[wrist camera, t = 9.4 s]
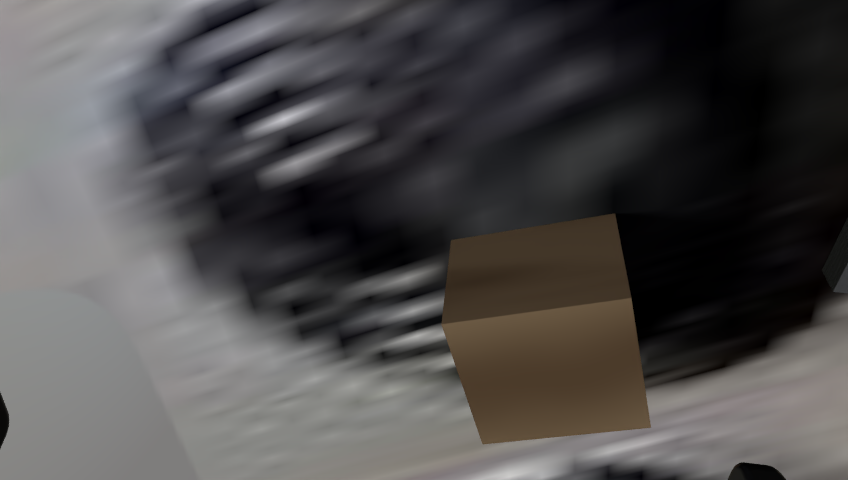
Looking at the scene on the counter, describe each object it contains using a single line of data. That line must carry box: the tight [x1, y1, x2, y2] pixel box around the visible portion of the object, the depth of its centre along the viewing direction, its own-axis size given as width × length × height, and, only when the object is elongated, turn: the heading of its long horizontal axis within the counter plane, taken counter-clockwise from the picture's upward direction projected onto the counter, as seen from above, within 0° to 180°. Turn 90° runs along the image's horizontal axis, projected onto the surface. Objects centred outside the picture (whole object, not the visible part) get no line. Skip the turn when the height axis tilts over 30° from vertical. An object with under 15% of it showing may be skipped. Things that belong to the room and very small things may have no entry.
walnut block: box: [442, 214, 651, 444], centre depth 23 cm, size 5×5×4 cm
